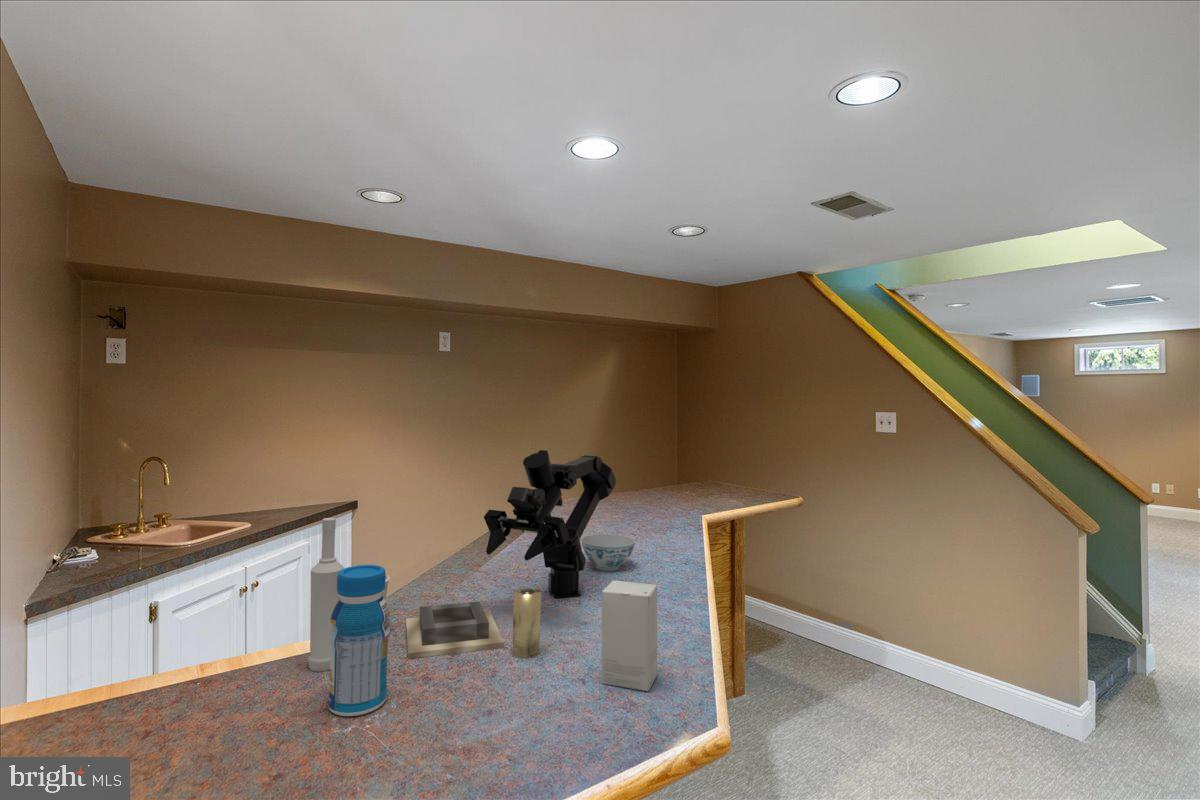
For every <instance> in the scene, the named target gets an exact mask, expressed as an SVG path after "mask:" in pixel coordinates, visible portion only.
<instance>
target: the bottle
mask: <svg viewBox="0 0 1200 800" xmlns="http://www.w3.org/2000/svg"><path fill="white" fill-rule="evenodd" d="M321 520H322V525H321V527H322V529H321V531H322V535H321V536H322V537H321V557H320V558H319V559H318V560H319V561H318V562H317V563H316V565H314V566H313V567H312V568H311V569H310V606H309V607H310V610H309V611H310V613H309V614H310V617H309V619H310V620H309V621H310V622H309V627H310V628H309V630H310V631H309V633H310V636H309V637H310V638H309V639H310V640H309V641H310V642H309V643H310V644H309V646H310V647H309V649H310V650H309V655H308V657H307V663H308V668H309V670H310V671H312V672H326V671H327V672H328V671H330V651H331V646H330V643H329V634H330V631H331V629H332V628H333V625H332V623H331V615H332V612H333V610H334V608H335V606H336V604H337V603H338V601H339V600H340V598H341V597H340V596H338V593H337V576H338V573H339V571H341V570H342V569H344V568H345V566H344V565H342V564H341V563H340V562H338V561H337V557H336V556H335V545H336V544H335V542H336V524H337V522H336V521H337V520H336V518H335V517H324V518H323V519H321Z"/></svg>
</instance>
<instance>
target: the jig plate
mask: <svg viewBox="0 0 1200 800" xmlns="http://www.w3.org/2000/svg"><path fill="white" fill-rule="evenodd" d="M493 617H494V616H493V615H492V613H491V611H490V610H484V607H483V605H482V604H481V601H473V602H472V601H469V602H459V603H452V604H450V603H449V604H448V603H447V604H438V605H428V606H427V605H425V606H420V607H419V617H411V618H405V630H406V631H405V632H406V633H405V634H406V644H407V645H406V647H407V659H408V660H410V659H419V658H427V657H436V656H443V655H444V656H445V655H453V654H462V653H469V652H477V651H486V650H493V649H496V650H497V649H503V648H505V641H504V639H503V636H502V635H501V633H500V632H501V631H499V628H498V626H497V624H496V622H495V619H494V618H493Z"/></svg>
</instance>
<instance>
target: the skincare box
mask: <svg viewBox="0 0 1200 800" xmlns="http://www.w3.org/2000/svg"><path fill="white" fill-rule="evenodd" d="M601 665H602V666H601V674H602V675H601V683H602V684H603V685H610V686H615V687H619V688H620V687H621V688H626V689H633V690H639V691H644V692H649V691H650V690H651V687H652V685H653V684H654V683H655V680H656V677H657V675H658V585H657V584H650V583H641V582H634V581H633V582H631V581H623V580H622V581H621V580H616V579H615V580H612V581H611V582H610V583H609V584H608V585H607V586H606V587H605V588H604V589H603V590H601Z"/></svg>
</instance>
